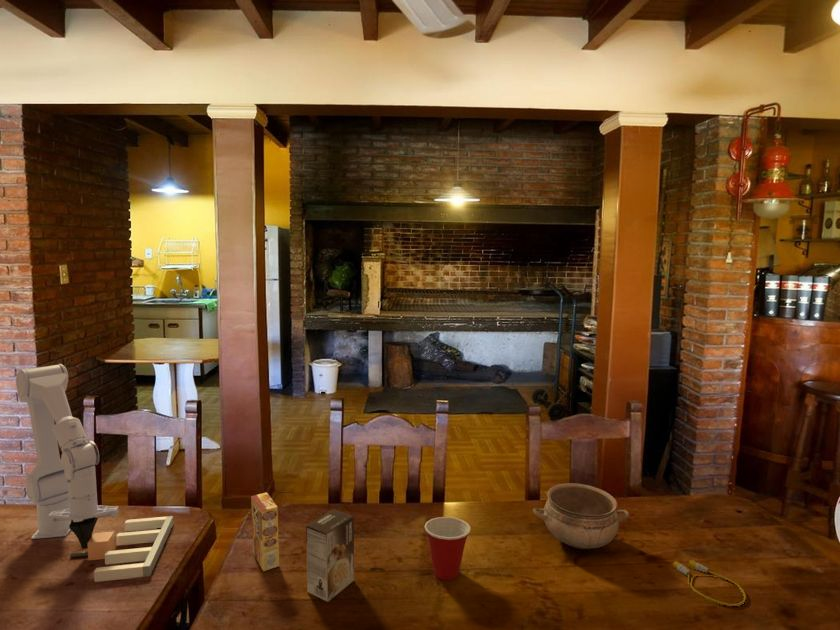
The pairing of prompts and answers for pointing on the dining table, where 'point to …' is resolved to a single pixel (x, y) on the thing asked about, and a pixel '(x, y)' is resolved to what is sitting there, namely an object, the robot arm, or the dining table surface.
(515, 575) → the dining table surface
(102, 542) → the tan handled block
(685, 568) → the yellow looped cord
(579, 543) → the cooking pot
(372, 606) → the dining table surface
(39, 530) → the robot arm
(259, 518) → the candy box
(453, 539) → the plastic cup
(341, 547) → the coffee box
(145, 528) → the cord comb
